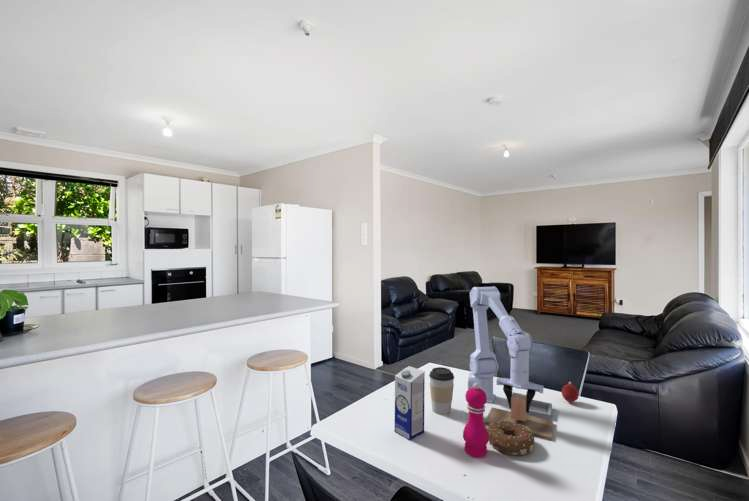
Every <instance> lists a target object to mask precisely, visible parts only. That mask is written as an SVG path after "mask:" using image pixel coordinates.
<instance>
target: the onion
mask: <svg viewBox="0 0 749 501" xmlns="http://www.w3.org/2000/svg"><path fill="white" fill-rule="evenodd" d="M561 395H562V398H563V399H564V400H565V401H567V402H568V403H569V404H571V403H574V402H576V401H577V400H578V399H579V396H580V394H579V390H578V389H577V387H576V386H575V385H573V382H572V381H569V382H568V383H567V384H564V385H563V387H562V388H561Z"/></svg>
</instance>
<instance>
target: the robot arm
mask: <svg viewBox="0 0 749 501" xmlns="http://www.w3.org/2000/svg"><path fill="white" fill-rule="evenodd" d="M469 302H470V308H472V314H473V324H474V325H473V329H474V340H475V351H474V352H472V353H471V354H470V355H469V356H470V357H469V359H470V360H469V370H470V373H469V374H468V378H467V390H468V389H470V388H473V384H474V383H478V384H479V388H480V389H482V390H483V391H484V392H485V393H486V396H487V402H486V403H490V404H492V403H493V401H494V399H495V398H496V394H495V393H494V377H495V376H496V374H497V373H498V371H499V364H498V361H497V356H496V354H495V353H494V352H492V351H491V350H490V349H491V348H490V339H489V327H488V315H487V310H488V309H489V308H490V309H491V310H492V312H493V313H494V314H495V315H496V317H497V318H498V320H499V321H498V326H499V327H500V329H501V331H502V332H503V334H504V336H505V338H507V340H506V346H507V348H508V353H509V356H510V368H509V369H510V371H509V373H510V374H509V376H510V378H507V377H506V378H505V377H497V378H496V385H497V386H503V389H502V390H503V393H504V394H505V397H506V400H507V403H508V407H509V409H510V410H511V396H512V394H513V388H514V389H518V390H519V389H520V390H526V394H525V395H527V406H526V412H527V413H529V409H530V407H531V405H530V404H531V401H532V400H534V398H535V396H536V392H537V393H539V394H544V385H541V384H538V383H535V382H531V381H529V379H530V378H529V374H530V351H531V350H532V349H533V348H534V341H533V338H532V336H531V334H530V333H529V332H526V331H525V330H522V328H521V326H520V324H518V322H517V321H516V319H515V317H513V316H512V315H509V313H508V312H507V310H506V309H505V308H506V307H504V304H503V303H502V301H501V293H500V291H499V289H498V288H497V287H496V286H494V285H493V286H473V287H472V288H471V290H470V291H469Z"/></svg>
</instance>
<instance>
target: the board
mask: <svg viewBox="0 0 749 501" xmlns="http://www.w3.org/2000/svg"><path fill="white" fill-rule="evenodd" d="M488 412H489V413H488V414H487V417H486V418H485V419H484V424H485V426H490V424H492V422H493V423H494V422H498V421H500V420H501V421H509V422H514V423H517V424H520V425H523V426H524V427H525V428H527V429H528V430H529V431H530V432H531V433H532V435H533V437H534V438H539V439H543V440H547V441H550V442H551V441H552V439H553V438H552V437H553V428H554V420H552V419H551V420H547V419H543V418H538V417H534V416H529V415H527V419H526V421H522V420H518V419H513V418H511V410H506V409H501V408H497V407H494V406H493V407H491V408H490V410H489V411H488Z"/></svg>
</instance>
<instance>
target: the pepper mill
mask: <svg viewBox="0 0 749 501" xmlns="http://www.w3.org/2000/svg"><path fill="white" fill-rule="evenodd" d="M464 396H465V400H466V402H467V405H466V406H467V407H466V409H467V411H468V419H467V422H466V423H465V426H464V428H463V432H462V438H463V440H464V442H465V443H464V452H465V453H466V454H467V455H469V456H470V457H474V458H477V459H478V458H479V459H480V458H484V457H486V456H487V453H488V446H487V444H489V436H488V432H487V429H486V428H487V427H486V426H487V425H486V424H485V419H484V413H485V412H486V406H485V405H486V403H488V402H487V396H486V393H485V392H484V391H483V390H482V389H480V388H479V384H478V383H474V384H473V388H470V389H468V388H467V391H466V393H465V395H464Z"/></svg>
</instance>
